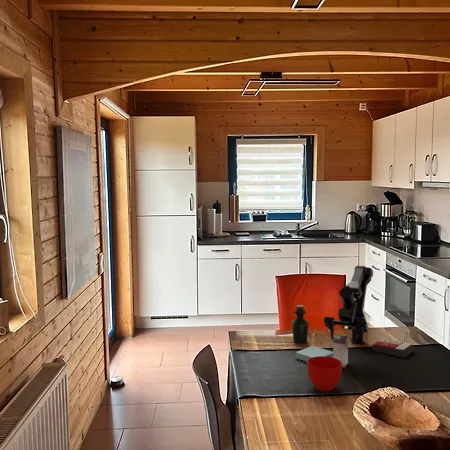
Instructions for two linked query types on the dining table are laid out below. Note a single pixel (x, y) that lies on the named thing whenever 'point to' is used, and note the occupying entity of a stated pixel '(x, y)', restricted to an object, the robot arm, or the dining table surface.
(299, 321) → the potion bottle
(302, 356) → the stand
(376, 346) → the red grey flat block
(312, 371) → the ceramic cup
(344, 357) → the housing
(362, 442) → the dining table surface
